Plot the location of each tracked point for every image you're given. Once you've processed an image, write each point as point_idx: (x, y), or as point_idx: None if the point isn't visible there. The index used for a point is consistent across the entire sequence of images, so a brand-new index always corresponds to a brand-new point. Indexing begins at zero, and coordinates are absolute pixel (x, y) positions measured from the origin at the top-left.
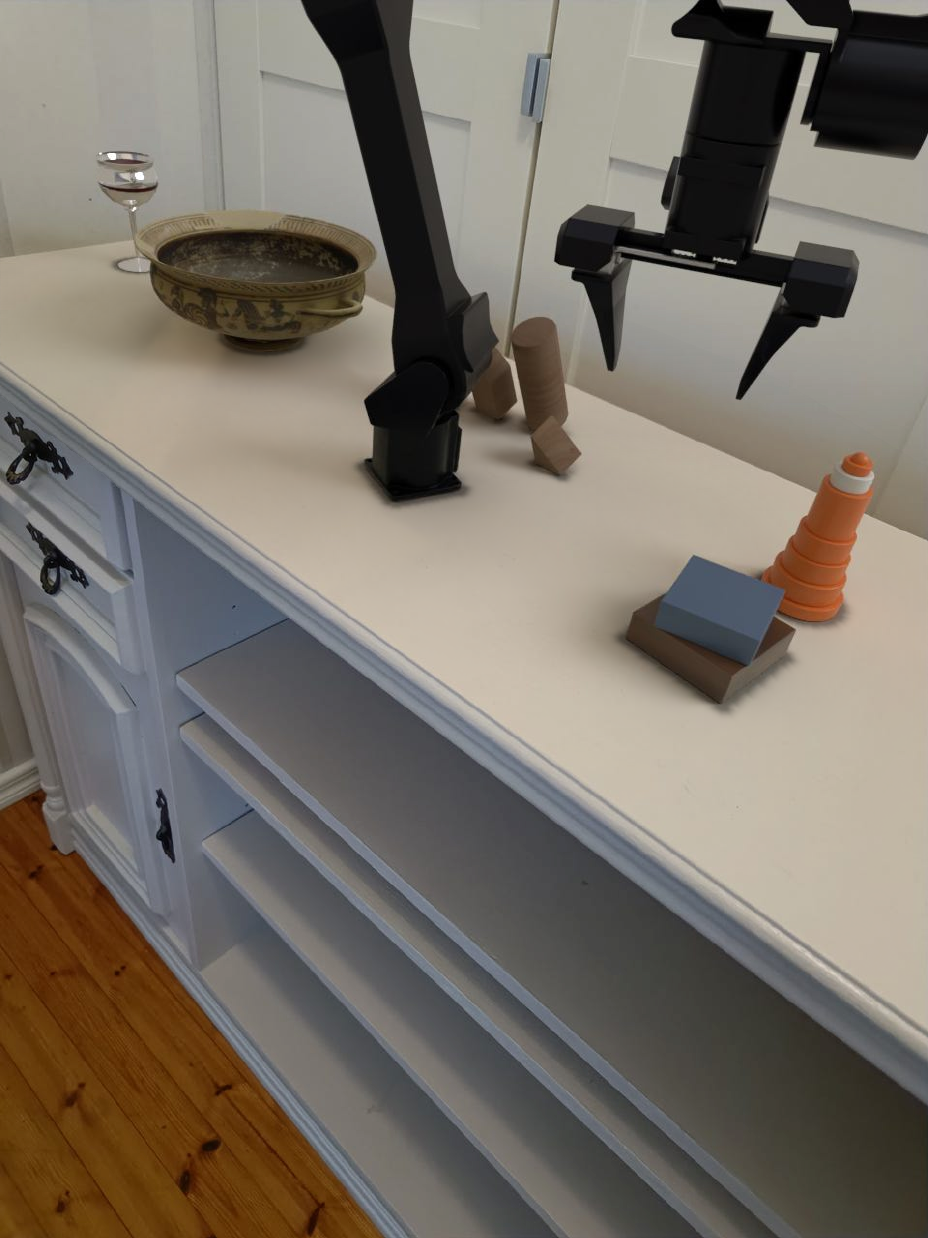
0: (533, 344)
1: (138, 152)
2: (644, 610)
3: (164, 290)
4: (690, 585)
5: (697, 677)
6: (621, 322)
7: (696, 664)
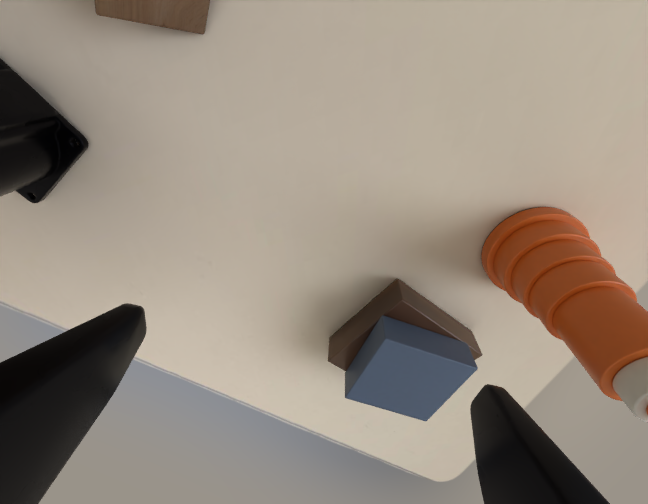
0: None
1: None
2: (337, 358)
3: None
4: (374, 379)
5: None
6: (12, 432)
7: None
